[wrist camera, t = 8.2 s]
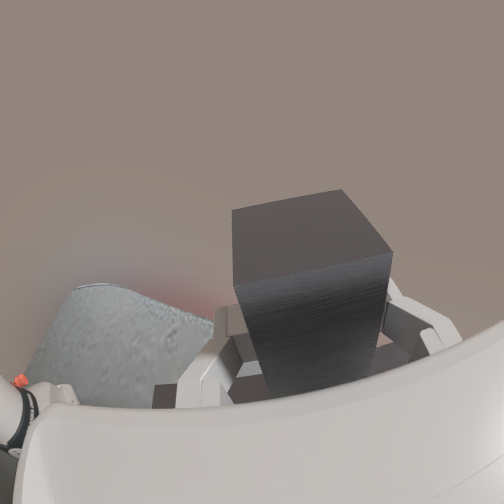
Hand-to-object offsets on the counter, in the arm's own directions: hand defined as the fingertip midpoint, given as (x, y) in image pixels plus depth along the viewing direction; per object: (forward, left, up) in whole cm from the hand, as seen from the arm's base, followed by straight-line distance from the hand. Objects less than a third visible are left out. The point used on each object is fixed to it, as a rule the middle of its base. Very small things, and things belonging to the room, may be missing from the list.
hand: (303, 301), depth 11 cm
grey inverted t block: (+1, 0, -9) cm, 9 cm away
